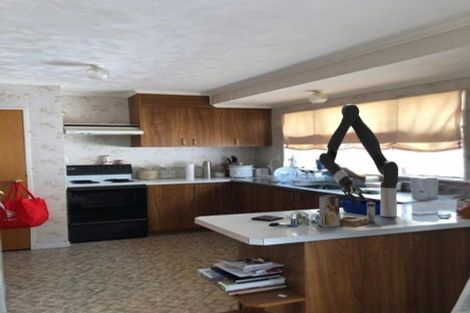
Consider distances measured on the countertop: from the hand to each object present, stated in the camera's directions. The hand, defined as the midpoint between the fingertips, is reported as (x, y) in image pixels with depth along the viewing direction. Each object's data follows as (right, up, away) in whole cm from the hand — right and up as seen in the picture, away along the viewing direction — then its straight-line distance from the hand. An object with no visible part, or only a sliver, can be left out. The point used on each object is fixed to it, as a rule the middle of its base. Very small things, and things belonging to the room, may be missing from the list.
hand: (360, 200), depth 260 cm
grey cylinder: (+5, -12, -5) cm, 14 cm away
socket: (-8, -12, -9) cm, 17 cm away
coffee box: (-20, -12, -14) cm, 28 cm away
